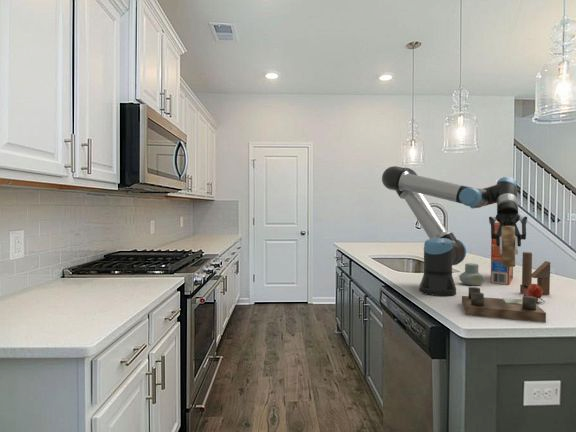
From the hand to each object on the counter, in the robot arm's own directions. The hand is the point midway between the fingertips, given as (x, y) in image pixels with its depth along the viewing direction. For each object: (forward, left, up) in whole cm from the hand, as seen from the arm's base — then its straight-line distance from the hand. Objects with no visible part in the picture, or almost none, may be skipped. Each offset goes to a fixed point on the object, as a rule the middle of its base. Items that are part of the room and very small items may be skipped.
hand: (508, 251), depth 148 cm
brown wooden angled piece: (+16, +33, -21) cm, 42 cm away
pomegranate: (+12, +16, -21) cm, 29 cm away
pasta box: (+8, +63, -21) cm, 67 cm away
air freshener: (-8, +46, -21) cm, 51 cm away
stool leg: (+1, +4, -6) cm, 7 cm away
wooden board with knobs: (-4, -7, -21) cm, 22 cm away
